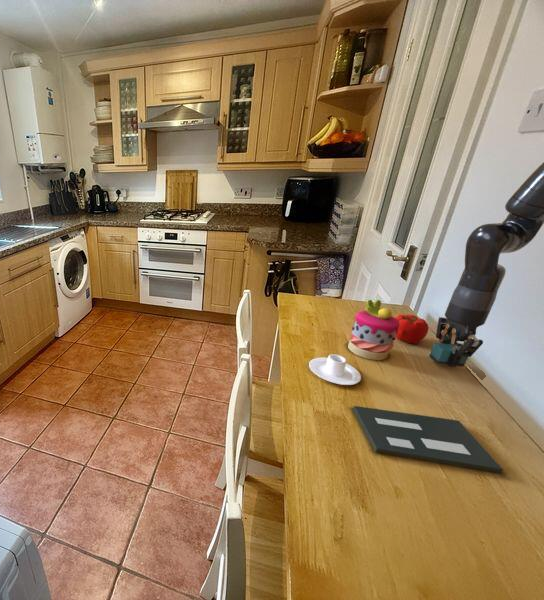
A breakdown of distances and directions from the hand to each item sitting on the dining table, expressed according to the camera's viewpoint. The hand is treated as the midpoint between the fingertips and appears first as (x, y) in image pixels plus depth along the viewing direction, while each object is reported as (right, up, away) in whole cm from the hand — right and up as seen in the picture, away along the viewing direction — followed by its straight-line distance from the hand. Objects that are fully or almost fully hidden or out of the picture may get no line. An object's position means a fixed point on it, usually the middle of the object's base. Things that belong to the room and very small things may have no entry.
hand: (446, 360), depth 87 cm
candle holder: (-32, -3, -2) cm, 32 cm away
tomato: (0, +4, +14) cm, 14 cm away
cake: (-16, +1, +8) cm, 18 cm away
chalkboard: (-27, -11, -22) cm, 37 cm away
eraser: (0, 0, 0) cm, 0 cm away
